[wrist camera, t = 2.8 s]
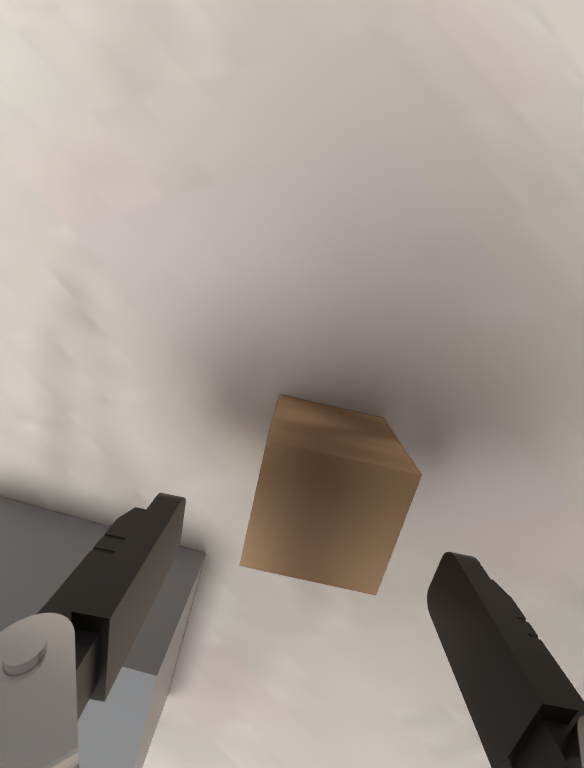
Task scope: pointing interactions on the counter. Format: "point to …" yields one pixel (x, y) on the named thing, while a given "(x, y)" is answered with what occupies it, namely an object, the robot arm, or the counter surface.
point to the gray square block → (149, 651)
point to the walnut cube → (329, 496)
